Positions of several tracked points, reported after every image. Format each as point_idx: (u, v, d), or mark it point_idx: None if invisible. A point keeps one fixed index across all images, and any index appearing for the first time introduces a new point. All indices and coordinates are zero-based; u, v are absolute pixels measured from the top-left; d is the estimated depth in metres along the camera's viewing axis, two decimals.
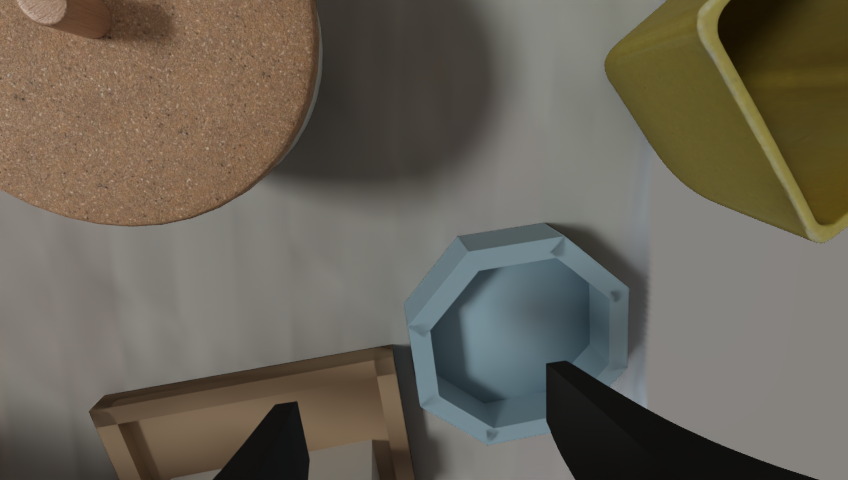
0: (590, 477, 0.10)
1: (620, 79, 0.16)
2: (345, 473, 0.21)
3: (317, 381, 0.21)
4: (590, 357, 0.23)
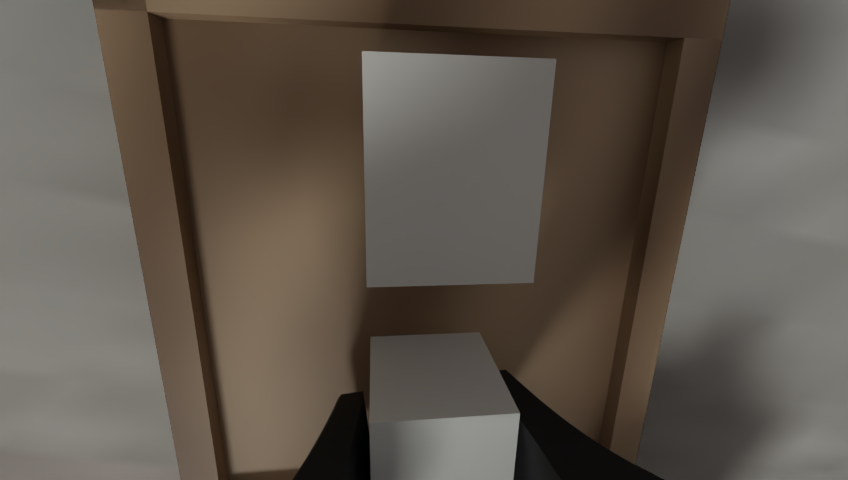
0: None
1: None
2: None
3: (152, 160, 0.09)
4: None
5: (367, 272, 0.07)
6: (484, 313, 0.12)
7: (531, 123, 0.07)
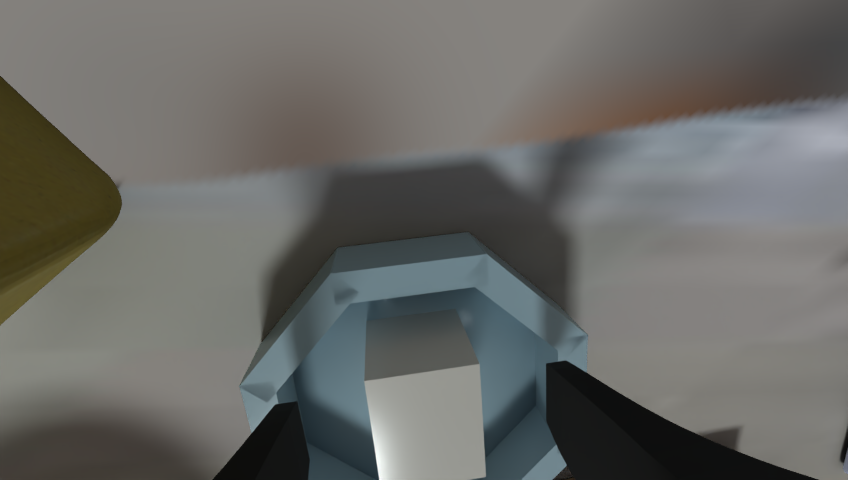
0: (590, 477, 0.10)
1: None
2: None
3: None
4: None
5: None
6: None
7: None
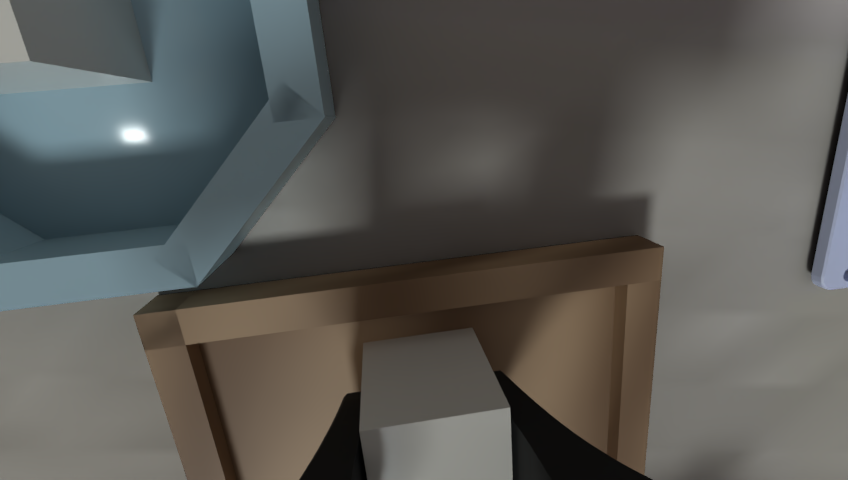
0: None
1: None
2: None
3: (199, 442, 0.11)
4: None
5: None
6: None
7: (496, 449, 0.09)
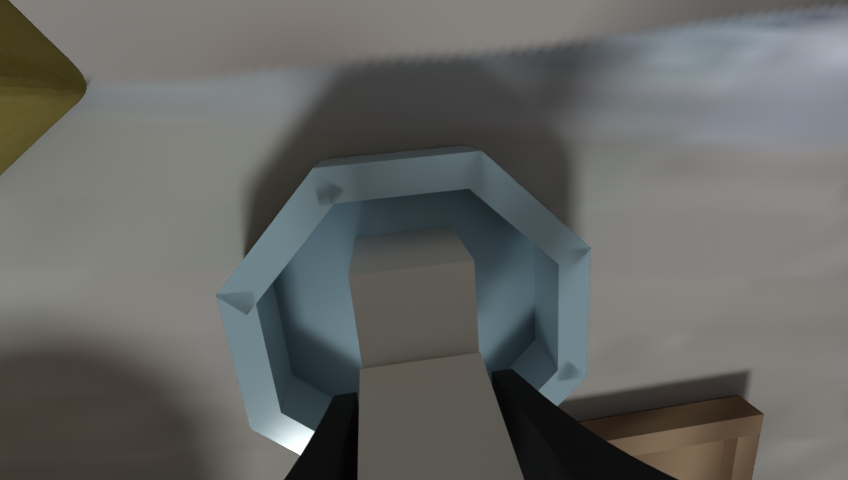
0: None
1: None
2: None
3: None
4: (471, 191, 0.13)
5: None
6: None
7: None
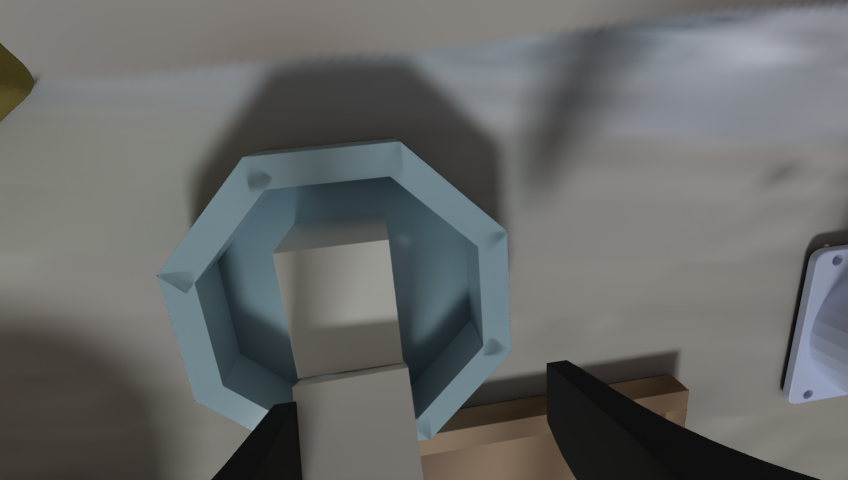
0: (590, 477, 0.10)
1: None
2: None
3: None
4: None
5: None
6: None
7: None
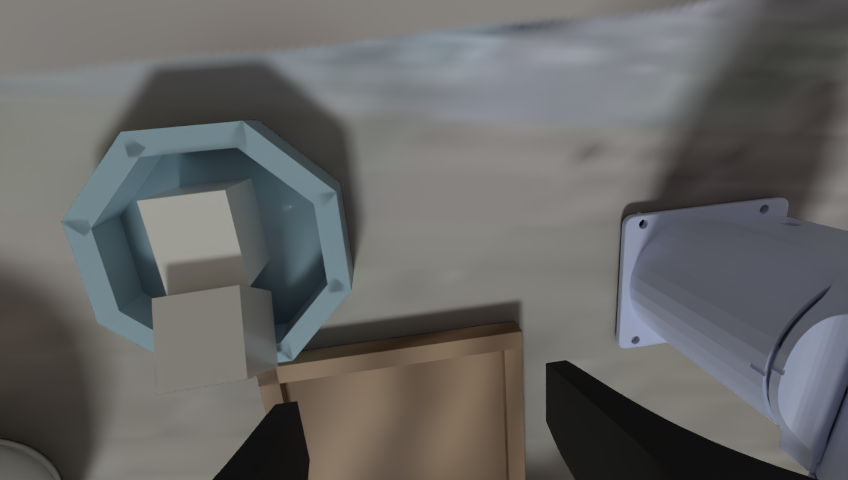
0: (590, 477, 0.10)
1: None
2: None
3: None
4: None
5: None
6: (436, 462, 0.25)
7: None
